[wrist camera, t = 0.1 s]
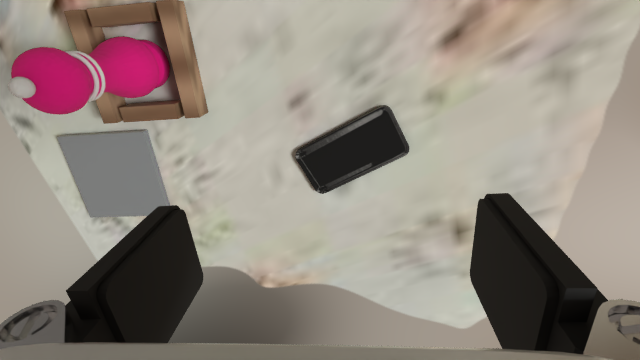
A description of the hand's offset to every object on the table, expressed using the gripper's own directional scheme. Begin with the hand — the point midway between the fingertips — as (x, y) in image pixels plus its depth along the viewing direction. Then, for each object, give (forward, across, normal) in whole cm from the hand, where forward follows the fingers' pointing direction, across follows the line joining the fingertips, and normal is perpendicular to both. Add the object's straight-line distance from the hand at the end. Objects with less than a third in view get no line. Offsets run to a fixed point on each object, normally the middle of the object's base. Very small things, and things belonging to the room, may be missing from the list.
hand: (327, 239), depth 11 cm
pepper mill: (+37, +27, -4) cm, 46 cm away
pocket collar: (+37, +27, -4) cm, 46 cm away
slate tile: (+37, +37, +12) cm, 53 cm away
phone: (+37, 0, +10) cm, 39 cm away
